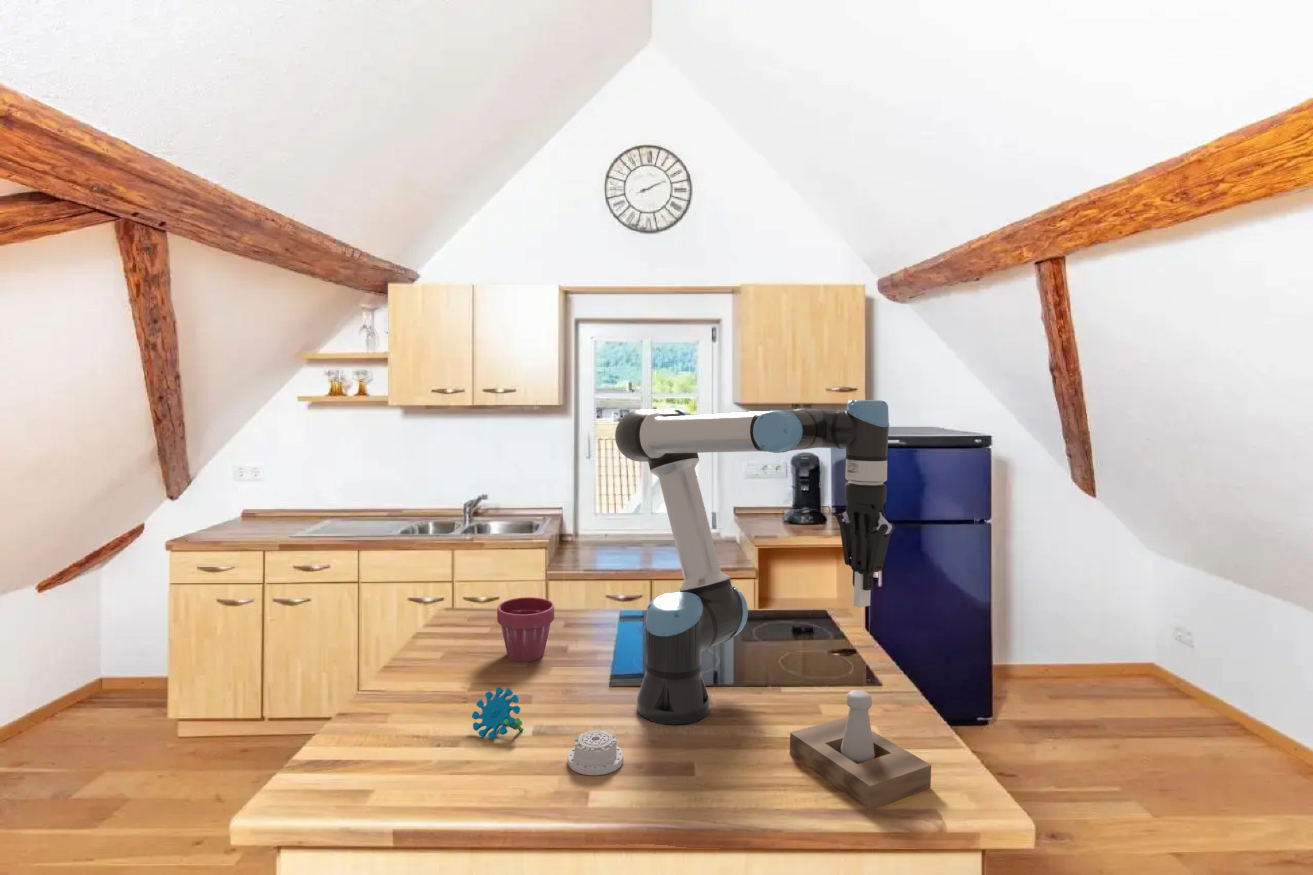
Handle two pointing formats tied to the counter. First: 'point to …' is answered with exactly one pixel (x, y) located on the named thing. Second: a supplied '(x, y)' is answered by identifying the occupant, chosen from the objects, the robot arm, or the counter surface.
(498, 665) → the counter surface
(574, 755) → the mechanical component
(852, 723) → the salt shaker
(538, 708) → the counter surface
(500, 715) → the coronavirus model
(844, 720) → the stand
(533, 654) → the plant pot
